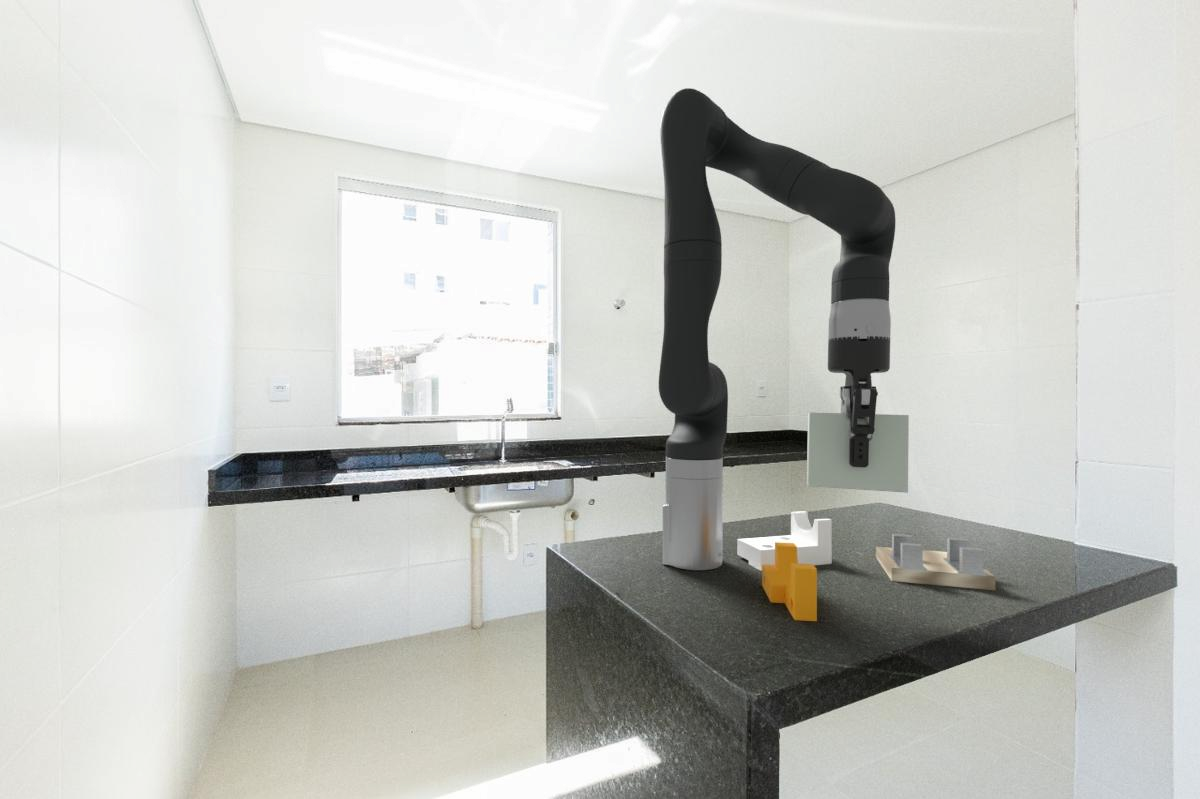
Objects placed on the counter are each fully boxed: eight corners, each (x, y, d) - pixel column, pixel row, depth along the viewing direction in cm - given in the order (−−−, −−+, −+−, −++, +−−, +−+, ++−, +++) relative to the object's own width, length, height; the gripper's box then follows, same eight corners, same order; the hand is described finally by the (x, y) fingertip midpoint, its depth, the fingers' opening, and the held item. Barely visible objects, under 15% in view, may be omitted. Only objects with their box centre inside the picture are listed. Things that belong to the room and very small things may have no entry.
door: (808, 486, 72) (810, 412, 72) (806, 484, 76) (807, 413, 76) (910, 493, 68) (910, 414, 69) (902, 490, 72) (902, 415, 73)
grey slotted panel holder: (898, 568, 79) (898, 544, 79) (888, 555, 85) (888, 533, 85) (987, 575, 76) (987, 550, 76) (970, 562, 82) (970, 539, 82)
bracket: (803, 554, 94) (803, 511, 94) (831, 566, 87) (831, 519, 87) (737, 560, 91) (737, 515, 91) (760, 573, 84) (760, 524, 84)
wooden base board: (891, 581, 79) (891, 567, 79) (875, 558, 91) (875, 546, 91) (995, 590, 75) (995, 576, 75) (965, 565, 87) (965, 553, 87)
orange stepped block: (762, 586, 77) (762, 541, 77) (793, 588, 77) (793, 542, 77) (779, 620, 65) (779, 567, 65) (816, 622, 65) (816, 569, 65)
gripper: (823, 342, 80) (820, 457, 80) (834, 331, 67) (831, 470, 67) (879, 342, 78) (876, 460, 78) (902, 330, 64) (899, 473, 65)
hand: (855, 464), depth 72 cm, fingers closed on door, 4 cm apart
